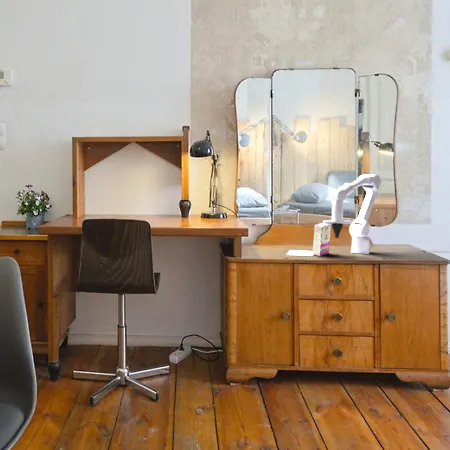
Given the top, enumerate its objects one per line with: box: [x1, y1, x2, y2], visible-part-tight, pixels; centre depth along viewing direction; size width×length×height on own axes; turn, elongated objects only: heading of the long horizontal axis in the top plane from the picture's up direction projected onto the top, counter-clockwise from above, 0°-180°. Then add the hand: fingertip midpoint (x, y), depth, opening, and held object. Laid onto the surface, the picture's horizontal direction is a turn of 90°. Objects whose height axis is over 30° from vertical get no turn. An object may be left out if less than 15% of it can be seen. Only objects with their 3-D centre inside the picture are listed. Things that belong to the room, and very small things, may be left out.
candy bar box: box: [312, 222, 332, 257], centre depth 240 cm, size 11×5×16 cm, turn 143°
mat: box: [285, 249, 314, 257], centre depth 244 cm, size 14×16×1 cm
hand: (336, 237), depth 238 cm, fingers closed
